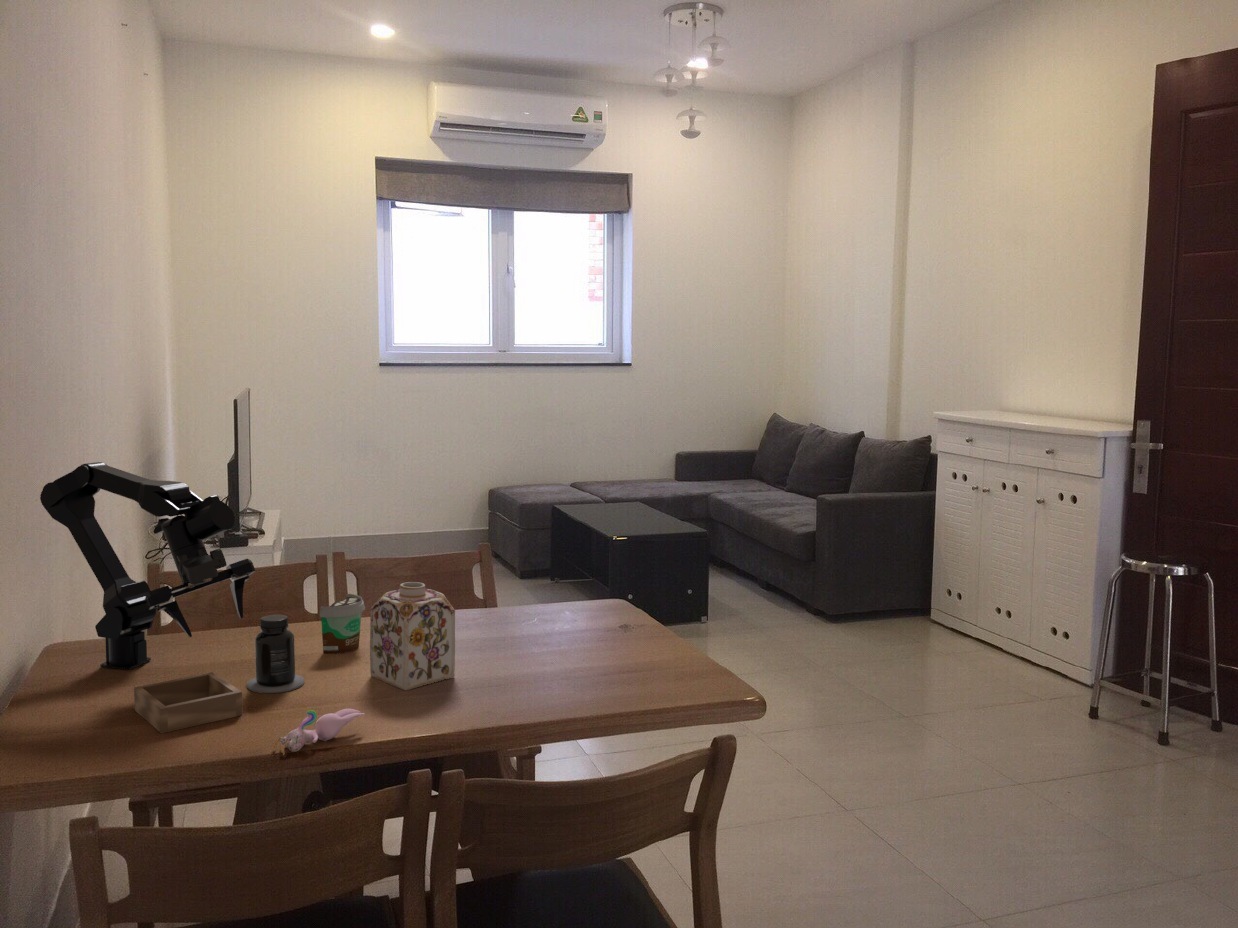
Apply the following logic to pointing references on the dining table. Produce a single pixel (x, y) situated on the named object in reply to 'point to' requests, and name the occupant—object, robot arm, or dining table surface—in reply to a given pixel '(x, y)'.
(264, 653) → the supplement bottle
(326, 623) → the food container
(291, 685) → the coaster
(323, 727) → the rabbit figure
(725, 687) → the dining table surface
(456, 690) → the dining table surface
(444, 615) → the decorative jar
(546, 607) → the dining table surface
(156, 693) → the walnut box
